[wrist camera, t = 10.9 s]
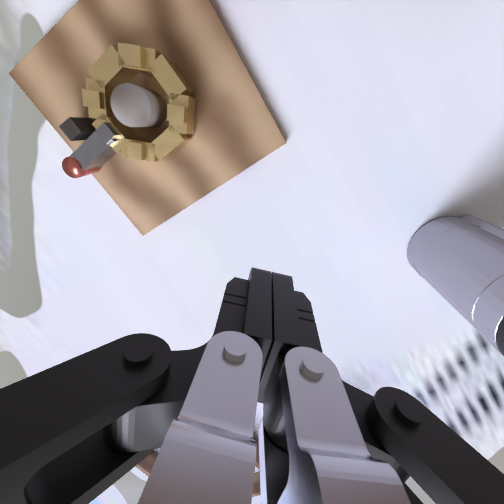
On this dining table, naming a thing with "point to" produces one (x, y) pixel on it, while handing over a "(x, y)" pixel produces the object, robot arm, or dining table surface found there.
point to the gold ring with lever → (117, 134)
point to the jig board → (199, 65)
